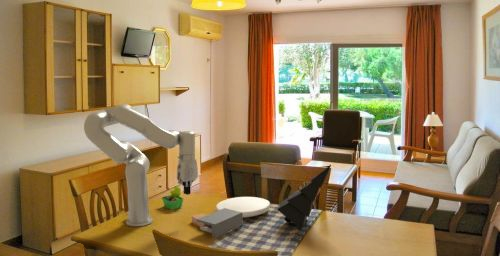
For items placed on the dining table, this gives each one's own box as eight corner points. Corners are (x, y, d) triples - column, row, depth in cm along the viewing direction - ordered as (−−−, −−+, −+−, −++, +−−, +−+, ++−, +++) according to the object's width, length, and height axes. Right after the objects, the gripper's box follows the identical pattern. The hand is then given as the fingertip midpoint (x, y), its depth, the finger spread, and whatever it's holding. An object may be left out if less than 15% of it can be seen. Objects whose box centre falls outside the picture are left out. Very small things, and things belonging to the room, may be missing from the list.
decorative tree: (297, 236, 196) (343, 178, 186) (271, 216, 198) (315, 158, 188) (302, 224, 210) (345, 170, 200) (278, 206, 212) (319, 151, 202)
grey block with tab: (194, 232, 194) (193, 218, 193) (221, 220, 209) (221, 207, 208) (215, 238, 186) (215, 224, 185) (242, 225, 201) (242, 212, 200)
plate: (210, 211, 208) (219, 195, 234) (212, 224, 209) (221, 206, 235) (267, 206, 205) (270, 191, 231) (269, 219, 206) (271, 202, 232)
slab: (191, 222, 207) (191, 216, 206) (202, 220, 210) (202, 213, 210) (204, 230, 197) (204, 222, 197) (215, 227, 201) (215, 220, 200)
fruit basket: (161, 206, 232) (160, 186, 230) (174, 202, 238) (174, 183, 236) (172, 211, 223) (171, 190, 222) (186, 207, 229) (185, 187, 228)
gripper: (180, 160, 197) (180, 198, 199) (203, 155, 208) (203, 192, 211) (169, 158, 201) (170, 195, 204) (193, 153, 213) (192, 189, 215)
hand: (187, 193), depth 207 cm, fingers closed
